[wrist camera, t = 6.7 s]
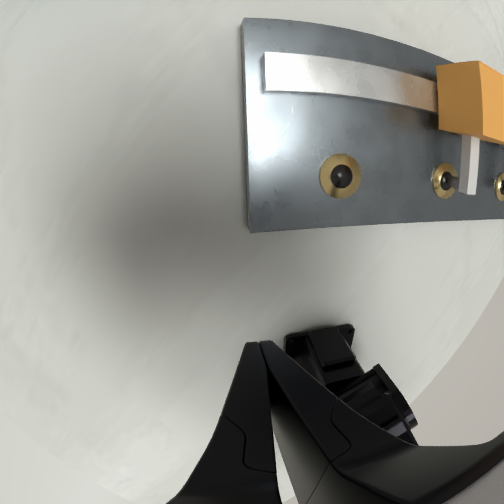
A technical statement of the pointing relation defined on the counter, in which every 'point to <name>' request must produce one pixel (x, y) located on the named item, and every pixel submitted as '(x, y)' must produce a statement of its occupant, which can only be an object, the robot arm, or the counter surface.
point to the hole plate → (350, 133)
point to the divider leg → (470, 113)
